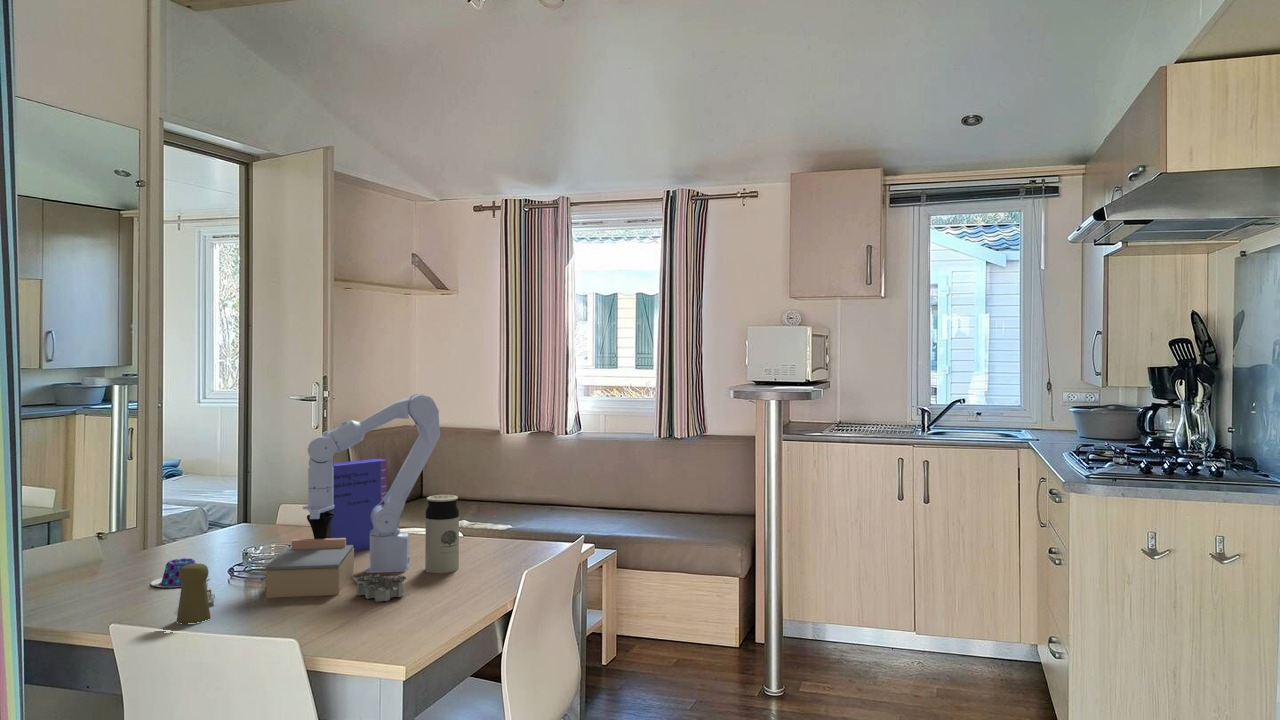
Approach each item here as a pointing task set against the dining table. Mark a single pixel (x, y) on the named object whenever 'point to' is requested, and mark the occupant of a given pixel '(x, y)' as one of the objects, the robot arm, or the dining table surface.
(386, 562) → the robot arm
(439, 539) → the travel mug
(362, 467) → the blue book
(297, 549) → the lid
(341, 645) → the dining table surface
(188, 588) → the cork
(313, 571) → the mailer box
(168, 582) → the purple spotted hat
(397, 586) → the egg carton
